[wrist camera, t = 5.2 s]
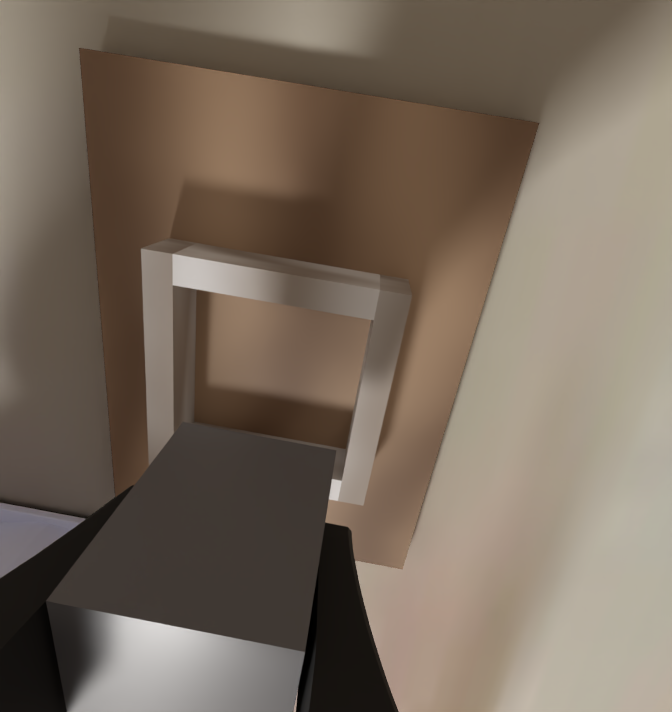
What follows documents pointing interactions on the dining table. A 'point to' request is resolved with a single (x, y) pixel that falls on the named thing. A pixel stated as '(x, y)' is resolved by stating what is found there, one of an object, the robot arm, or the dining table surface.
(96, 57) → the dock
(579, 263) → the dining table surface
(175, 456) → the grey matte cube
